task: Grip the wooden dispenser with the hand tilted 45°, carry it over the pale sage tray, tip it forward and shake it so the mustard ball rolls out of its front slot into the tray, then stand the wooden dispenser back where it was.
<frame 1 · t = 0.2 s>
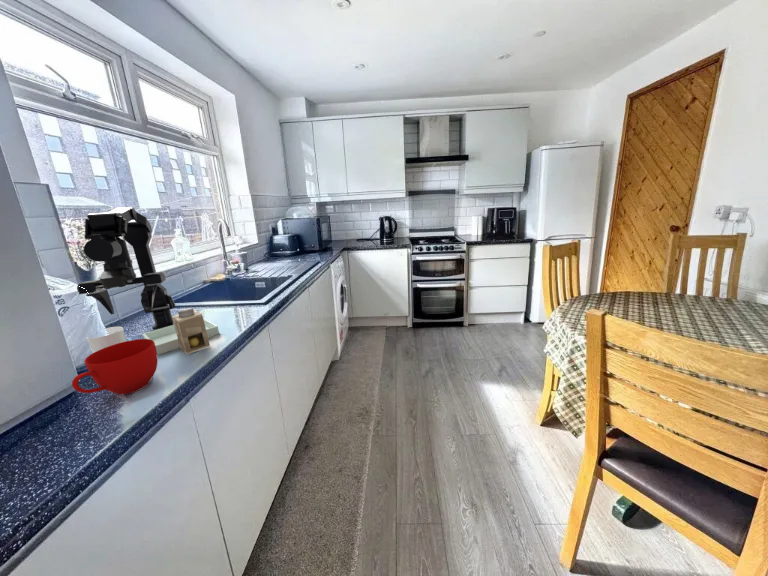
hand: (132, 310, 88), 14 cm above the worktop, tool pointing down, fingers open, 9 cm apart
ball: (193, 341, 94), point 2 cm above the worktop, touching wooden dispenser
white cup: (116, 363, 87), on the worktop
wooden dispenser: (195, 347, 94), on the worktop, touching ball
ceramic cup: (125, 392, 73), on the worktop
tray: (182, 337, 102), on the worktop
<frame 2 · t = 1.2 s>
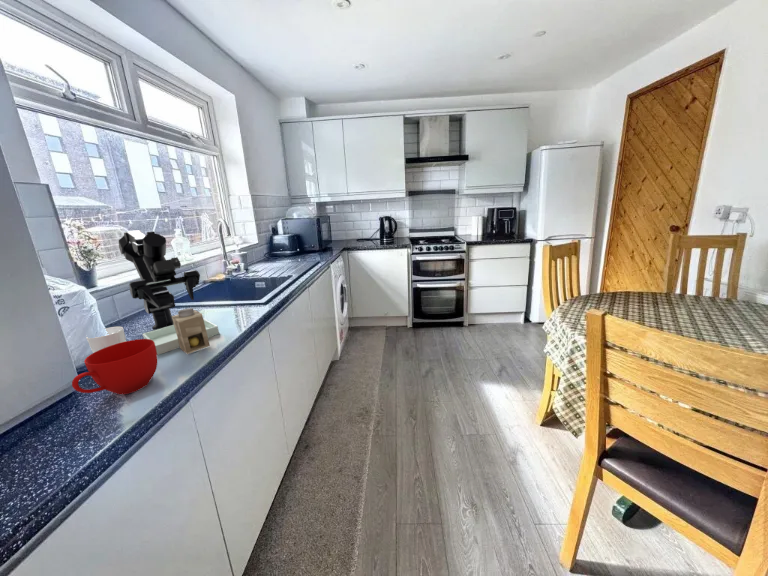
hand: (177, 303, 95), 13 cm above the worktop, tool tilted 45°, fingers open, 9 cm apart
nothing on the worktop moved.
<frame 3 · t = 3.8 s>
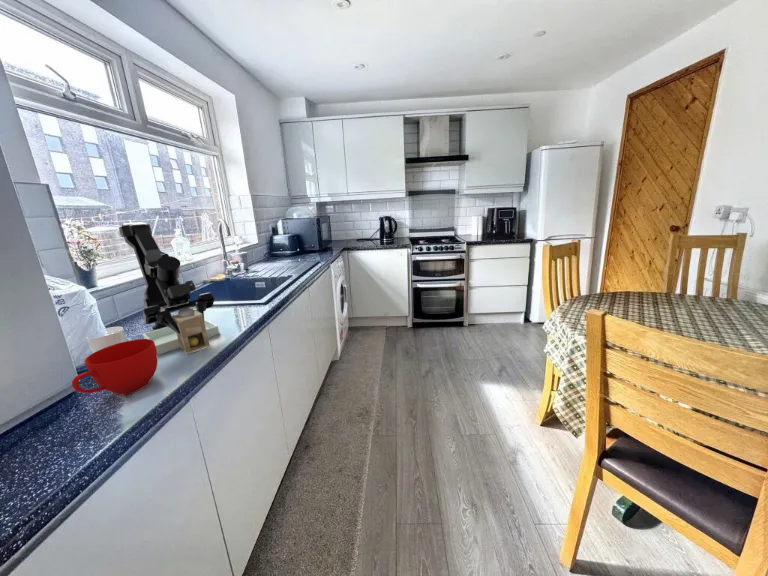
hand: (191, 329, 91), 7 cm above the worktop, tool tilted 45°, fingers closed on wooden dispenser, 6 cm apart
ball: (193, 341, 94), point 2 cm above the worktop, tilted 9°, touching wooden dispenser
wooden dispenser: (195, 347, 94), on the worktop, touching ball, gripper
everything else where it was.
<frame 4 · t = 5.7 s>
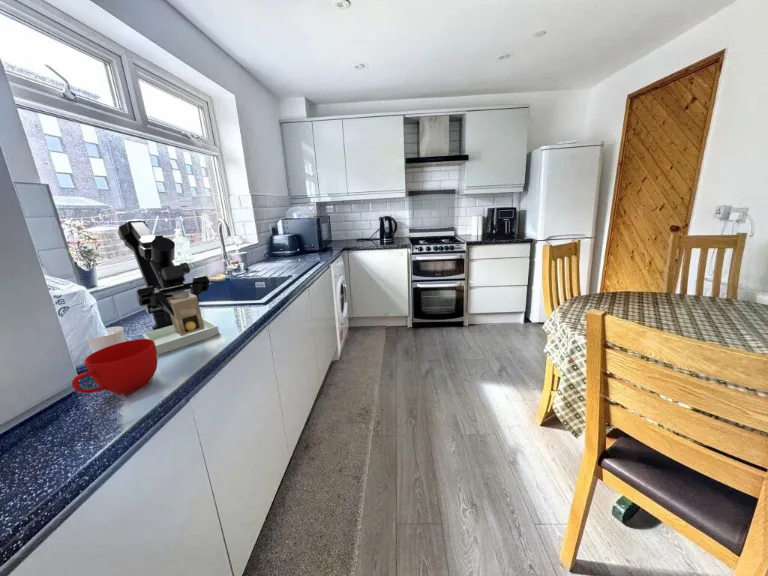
hand: (186, 311, 91), 12 cm above the worktop, tool tilted 45°, fingers closed on wooden dispenser, 6 cm apart
ball: (190, 325, 92), point 8 cm above the worktop, tilted 70°, touching wooden dispenser
wooden dispenser: (190, 330, 93), point 6 cm above the worktop, touching ball, gripper
everything else where it was.
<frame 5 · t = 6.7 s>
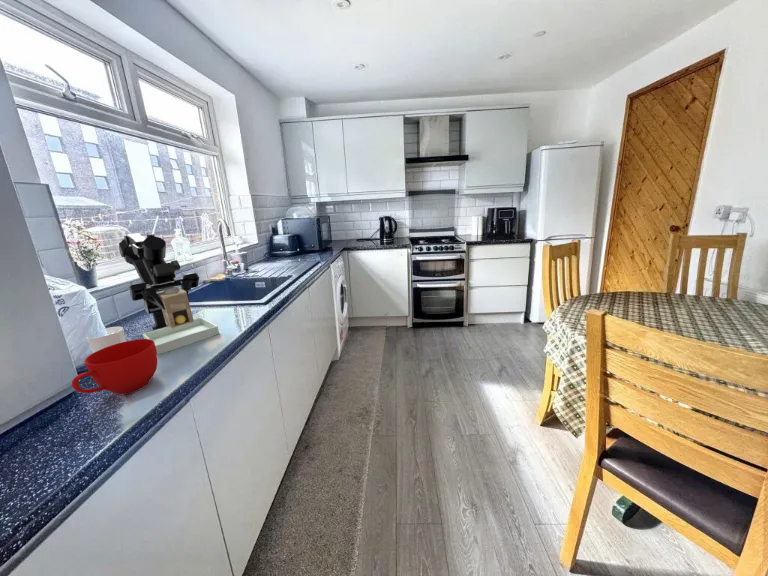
hand: (176, 305, 97), 12 cm above the worktop, tool tilted 45°, fingers closed on wooden dispenser, 6 cm apart
ball: (180, 319, 98), point 8 cm above the worktop, tilted 74°, touching wooden dispenser
wooden dispenser: (180, 323, 100), point 6 cm above the worktop, touching ball, gripper
everything else where it was.
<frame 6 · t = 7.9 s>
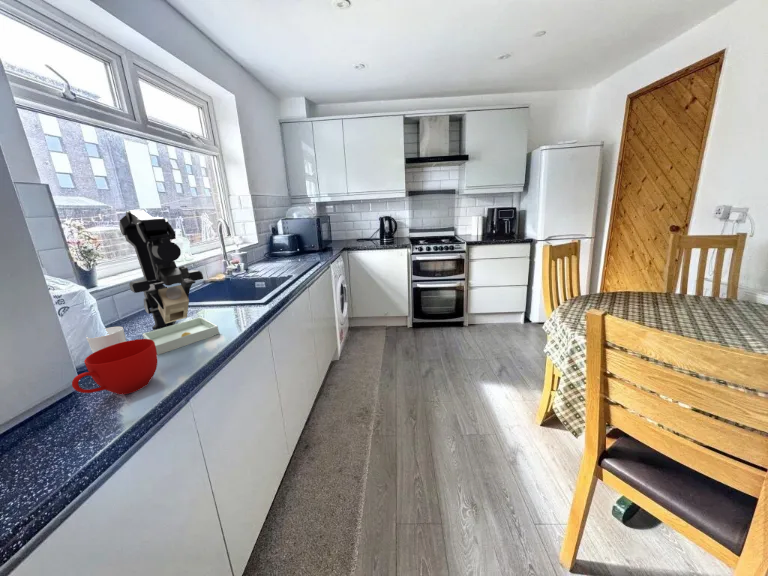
hand: (175, 305, 98), 12 cm above the worktop, tool pointing down, fingers closed on wooden dispenser, 6 cm apart
ball: (186, 336, 98), point 2 cm above the worktop, tilted 84°, touching tray
wooden dispenser: (172, 313, 103), point 8 cm above the worktop, tilted 45°, touching gripper
everything else where it was.
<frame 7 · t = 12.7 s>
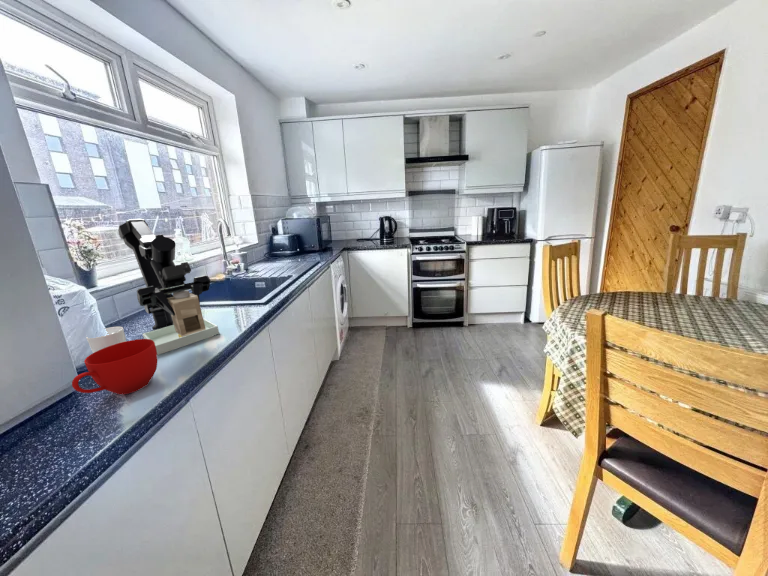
hand: (187, 311, 90), 12 cm above the worktop, tool tilted 45°, fingers closed on wooden dispenser, 6 cm apart
ball: (183, 334, 100), point 2 cm above the worktop, tilted 34°, touching tray
wooden dispenser: (190, 330, 93), point 6 cm above the worktop, touching gripper
everything else where it was.
when the fingers open (8 cm above the worktop, at t = 14.2 s): wooden dispenser drops 1 cm, on the worktop.
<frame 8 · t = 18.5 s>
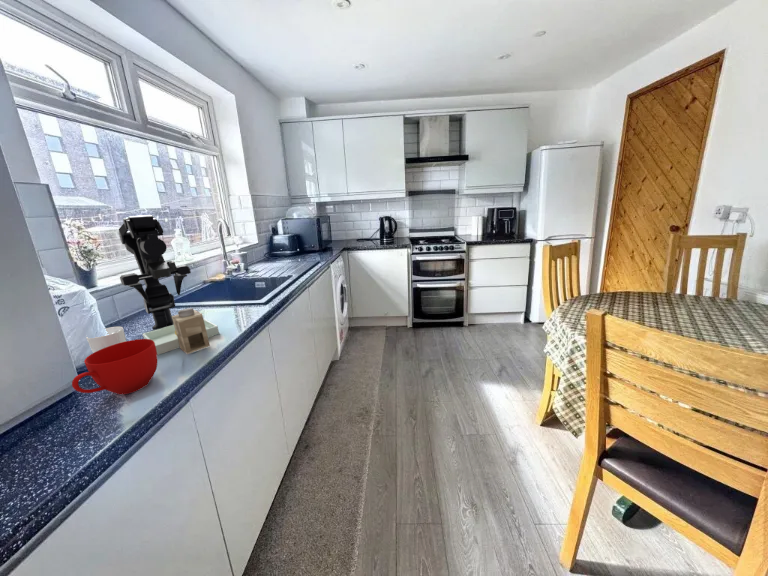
hand: (163, 298, 104), 13 cm above the worktop, tool pointing down, fingers open, 9 cm apart
ball: (180, 332, 102), point 2 cm above the worktop, tilted 175°, touching tray
wooden dispenser: (195, 347, 94), on the worktop
everything else where it was.
at the end: ball 0.8 cm from the tray (horizontally); ball point 2.0 cm above the worktop; wooden dispenser tilted 0° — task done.
